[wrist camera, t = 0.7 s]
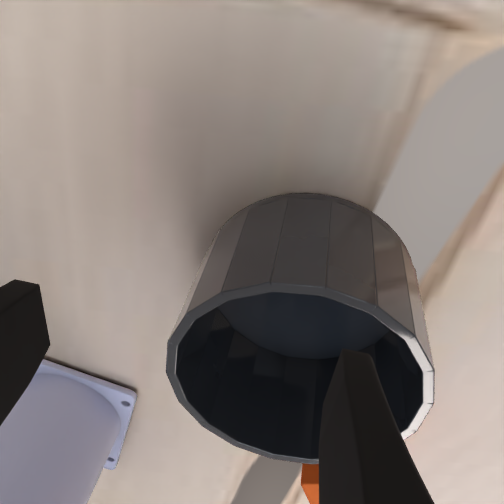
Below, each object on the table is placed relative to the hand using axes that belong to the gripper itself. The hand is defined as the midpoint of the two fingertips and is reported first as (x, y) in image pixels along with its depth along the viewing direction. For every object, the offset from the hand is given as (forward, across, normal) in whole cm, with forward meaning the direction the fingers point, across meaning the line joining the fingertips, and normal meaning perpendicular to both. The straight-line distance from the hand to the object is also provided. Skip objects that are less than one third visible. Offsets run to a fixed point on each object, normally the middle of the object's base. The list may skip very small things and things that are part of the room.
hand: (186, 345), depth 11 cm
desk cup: (+10, -3, +5) cm, 12 cm away
